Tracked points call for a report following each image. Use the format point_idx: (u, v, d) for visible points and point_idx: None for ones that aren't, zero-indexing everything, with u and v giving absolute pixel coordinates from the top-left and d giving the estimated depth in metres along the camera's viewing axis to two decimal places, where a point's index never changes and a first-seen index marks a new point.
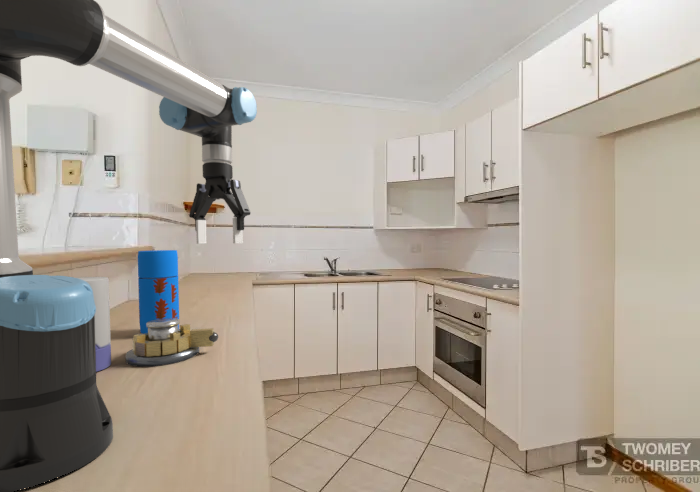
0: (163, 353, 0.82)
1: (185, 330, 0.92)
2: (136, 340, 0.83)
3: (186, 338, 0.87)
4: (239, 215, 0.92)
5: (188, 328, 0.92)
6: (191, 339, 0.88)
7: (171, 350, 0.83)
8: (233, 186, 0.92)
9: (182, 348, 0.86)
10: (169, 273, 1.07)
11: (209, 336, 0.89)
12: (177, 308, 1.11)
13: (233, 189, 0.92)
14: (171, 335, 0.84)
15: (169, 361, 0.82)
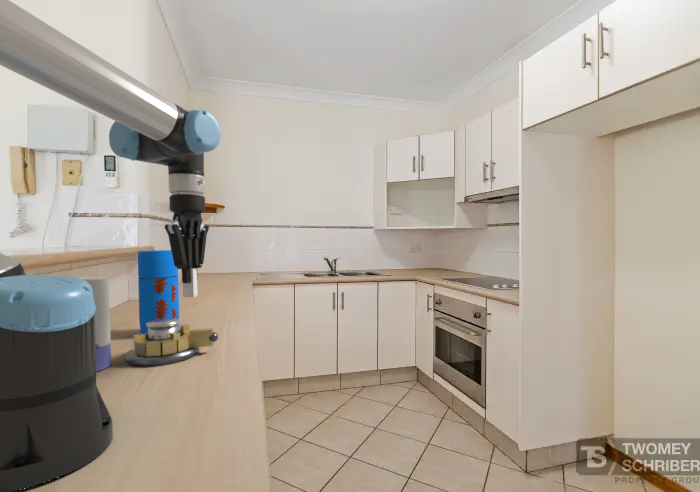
0: (163, 353, 0.82)
1: (185, 330, 0.92)
2: (136, 340, 0.83)
3: (186, 338, 0.87)
4: (181, 268, 0.82)
5: (188, 328, 0.92)
6: (191, 339, 0.88)
7: (171, 350, 0.83)
8: None
9: (182, 348, 0.86)
10: (169, 273, 1.07)
11: (209, 336, 0.89)
12: (177, 308, 1.11)
13: None
14: (171, 335, 0.84)
15: (169, 361, 0.82)
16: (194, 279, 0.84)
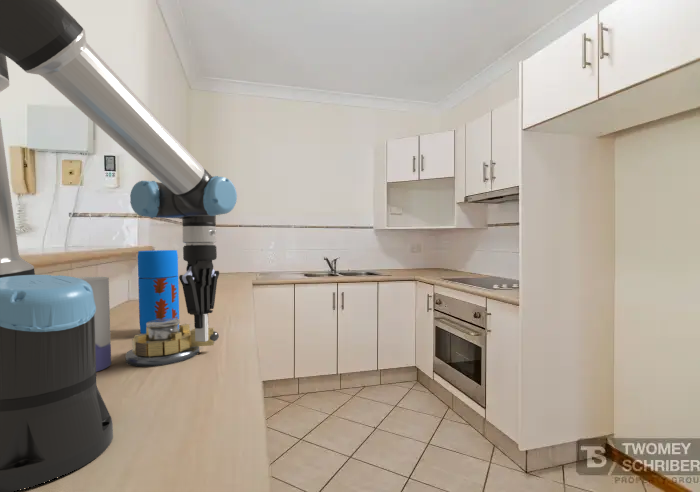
0: (165, 353, 0.83)
1: (184, 330, 0.92)
2: (137, 340, 0.83)
3: (187, 338, 0.87)
4: (193, 314, 0.87)
5: (187, 328, 0.93)
6: (192, 339, 0.89)
7: (173, 350, 0.84)
8: None
9: (183, 348, 0.86)
10: (169, 273, 1.07)
11: (209, 335, 0.90)
12: (177, 308, 1.11)
13: None
14: (173, 335, 0.85)
15: (169, 361, 0.82)
16: (206, 324, 0.88)
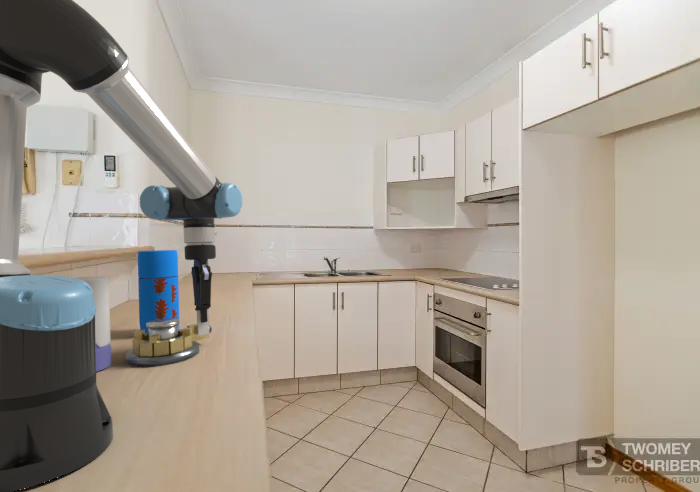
0: (185, 348, 0.86)
1: None
2: (155, 341, 0.82)
3: None
4: (200, 309, 0.93)
5: None
6: (191, 334, 0.93)
7: (189, 344, 0.88)
8: (201, 279, 0.89)
9: None
10: (169, 273, 1.07)
11: None
12: (177, 308, 1.11)
13: (200, 281, 0.90)
14: (185, 331, 0.88)
15: (169, 361, 0.82)
16: None
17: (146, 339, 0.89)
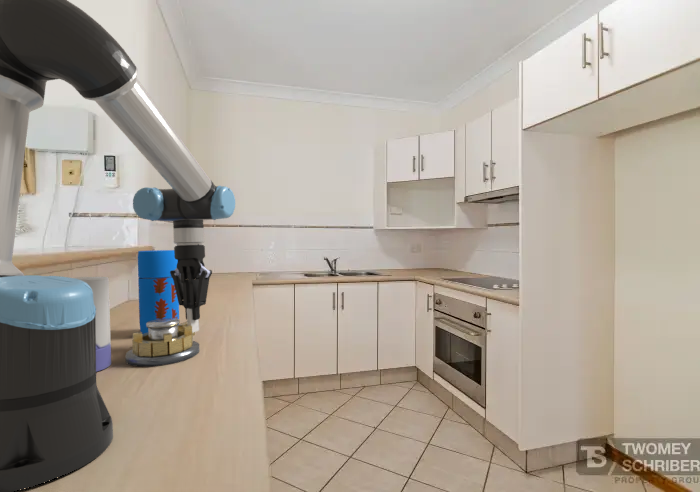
0: (191, 344, 0.89)
1: None
2: (170, 339, 0.83)
3: None
4: (194, 307, 0.96)
5: None
6: None
7: (192, 341, 0.91)
8: (202, 277, 0.94)
9: None
10: (169, 273, 1.07)
11: None
12: (177, 308, 1.11)
13: (200, 279, 0.94)
14: (187, 328, 0.91)
15: (169, 361, 0.82)
16: None
17: None
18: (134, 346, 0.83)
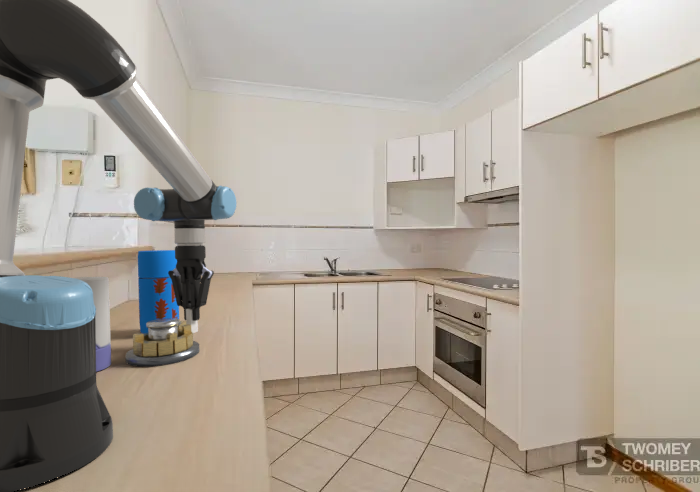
0: (192, 343, 0.90)
1: None
2: (175, 338, 0.84)
3: None
4: (194, 308, 0.96)
5: None
6: None
7: None
8: (205, 278, 0.94)
9: None
10: None
11: None
12: (177, 308, 1.11)
13: (203, 280, 0.94)
14: (187, 327, 0.92)
15: (169, 361, 0.82)
16: None
17: None
18: (136, 347, 0.83)
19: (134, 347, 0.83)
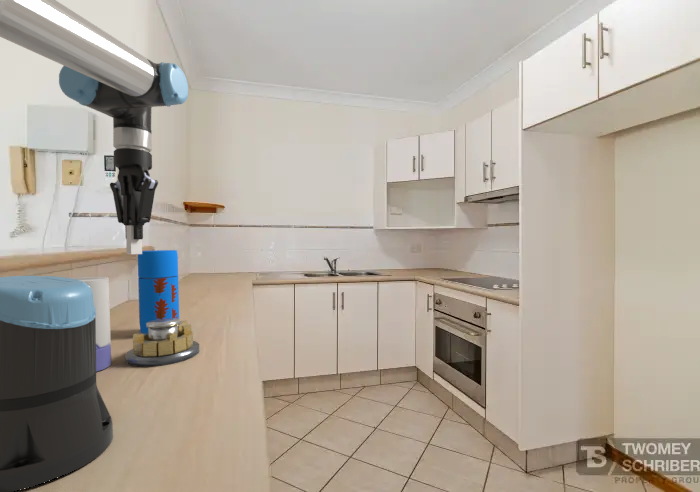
0: (192, 343, 0.90)
1: None
2: (175, 338, 0.84)
3: None
4: (135, 224, 0.81)
5: None
6: None
7: None
8: (145, 187, 0.79)
9: None
10: (169, 273, 1.07)
11: None
12: (177, 308, 1.11)
13: (143, 189, 0.80)
14: (187, 327, 0.92)
15: (169, 361, 0.82)
16: None
17: None
18: (136, 347, 0.83)
19: (134, 347, 0.83)
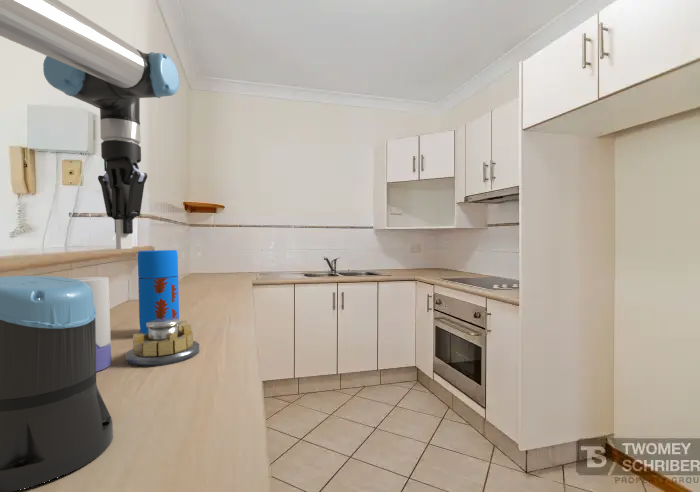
0: (192, 343, 0.90)
1: None
2: (175, 338, 0.84)
3: None
4: (125, 218, 0.79)
5: None
6: None
7: None
8: (134, 180, 0.78)
9: None
10: (169, 273, 1.07)
11: None
12: (177, 308, 1.11)
13: (132, 183, 0.78)
14: (187, 327, 0.92)
15: (169, 361, 0.82)
16: None
17: None
18: (136, 347, 0.83)
19: (134, 347, 0.83)
